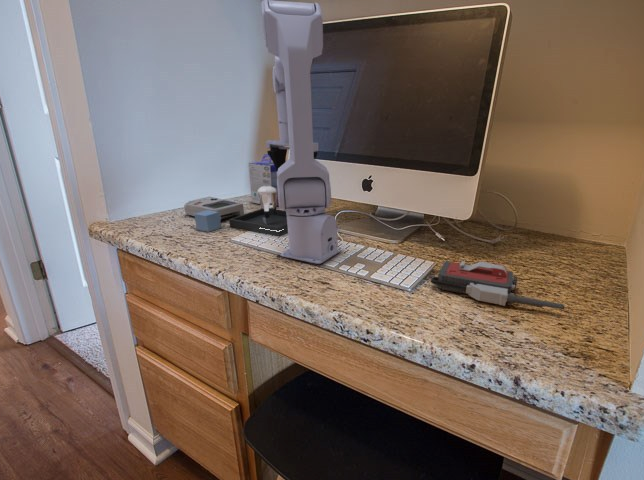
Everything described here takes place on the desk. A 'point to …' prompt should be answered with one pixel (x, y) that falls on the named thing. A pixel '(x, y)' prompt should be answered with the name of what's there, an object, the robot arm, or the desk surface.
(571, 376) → the desk surface
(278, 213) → the tray
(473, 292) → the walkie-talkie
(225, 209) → the handheld gaming device
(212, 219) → the blue block
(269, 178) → the ink cartridge box
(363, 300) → the desk surface
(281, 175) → the robot arm
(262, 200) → the milkshake
